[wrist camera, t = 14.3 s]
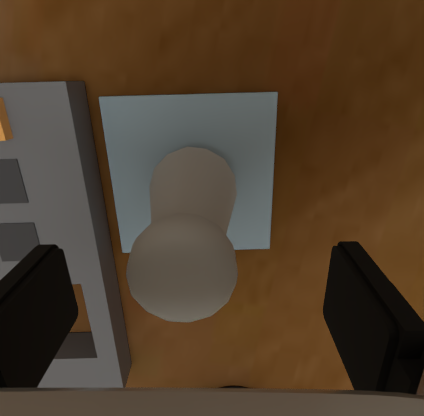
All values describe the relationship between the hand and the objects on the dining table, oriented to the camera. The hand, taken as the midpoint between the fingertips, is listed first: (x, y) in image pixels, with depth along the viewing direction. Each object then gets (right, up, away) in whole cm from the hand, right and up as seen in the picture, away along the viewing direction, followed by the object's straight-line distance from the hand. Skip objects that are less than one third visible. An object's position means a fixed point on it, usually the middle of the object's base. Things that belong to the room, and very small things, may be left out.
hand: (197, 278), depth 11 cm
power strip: (-13, -1, +15) cm, 20 cm away
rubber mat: (-1, +5, +13) cm, 14 cm away
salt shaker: (-1, +5, +12) cm, 13 cm away
